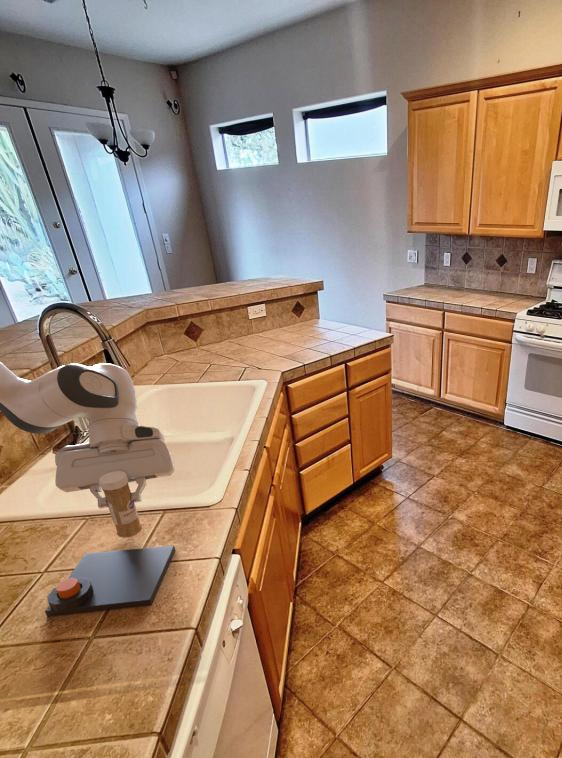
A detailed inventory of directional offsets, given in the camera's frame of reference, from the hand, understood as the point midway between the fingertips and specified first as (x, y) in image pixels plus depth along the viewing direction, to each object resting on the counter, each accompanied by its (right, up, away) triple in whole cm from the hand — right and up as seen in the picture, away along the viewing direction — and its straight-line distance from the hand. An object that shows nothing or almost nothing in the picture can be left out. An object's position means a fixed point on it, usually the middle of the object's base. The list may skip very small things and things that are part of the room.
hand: (120, 504), depth 85 cm
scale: (+4, -13, -7) cm, 15 cm away
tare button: (0, -13, -13) cm, 18 cm away
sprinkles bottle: (0, -6, +4) cm, 7 cm away
